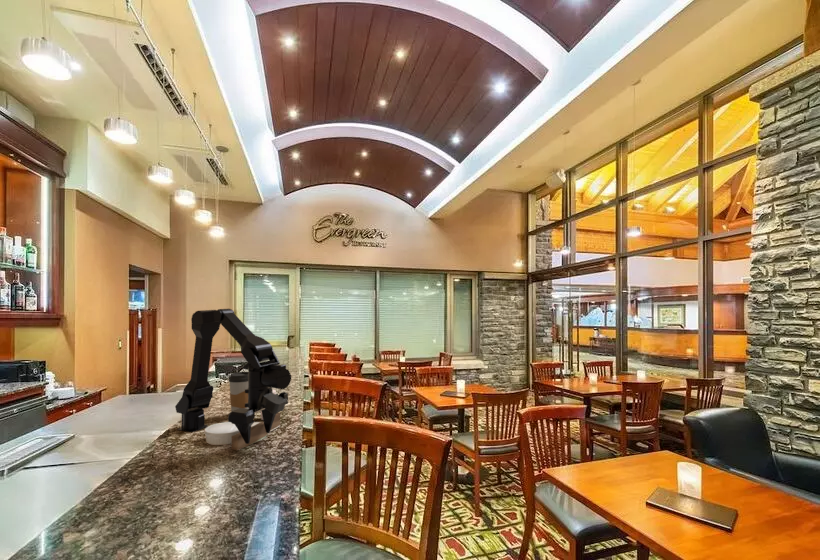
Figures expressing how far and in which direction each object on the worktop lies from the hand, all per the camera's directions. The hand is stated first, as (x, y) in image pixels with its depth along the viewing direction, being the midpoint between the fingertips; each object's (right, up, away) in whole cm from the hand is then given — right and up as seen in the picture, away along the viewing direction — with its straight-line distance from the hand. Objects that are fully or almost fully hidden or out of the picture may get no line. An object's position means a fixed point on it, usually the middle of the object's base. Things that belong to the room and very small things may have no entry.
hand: (258, 437), depth 121 cm
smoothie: (-6, -3, +25) cm, 26 cm away
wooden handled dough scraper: (-9, -2, +3) cm, 10 cm away
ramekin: (-11, -4, +3) cm, 12 cm away
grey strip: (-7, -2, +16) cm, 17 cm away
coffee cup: (-17, -3, +30) cm, 35 cm away
